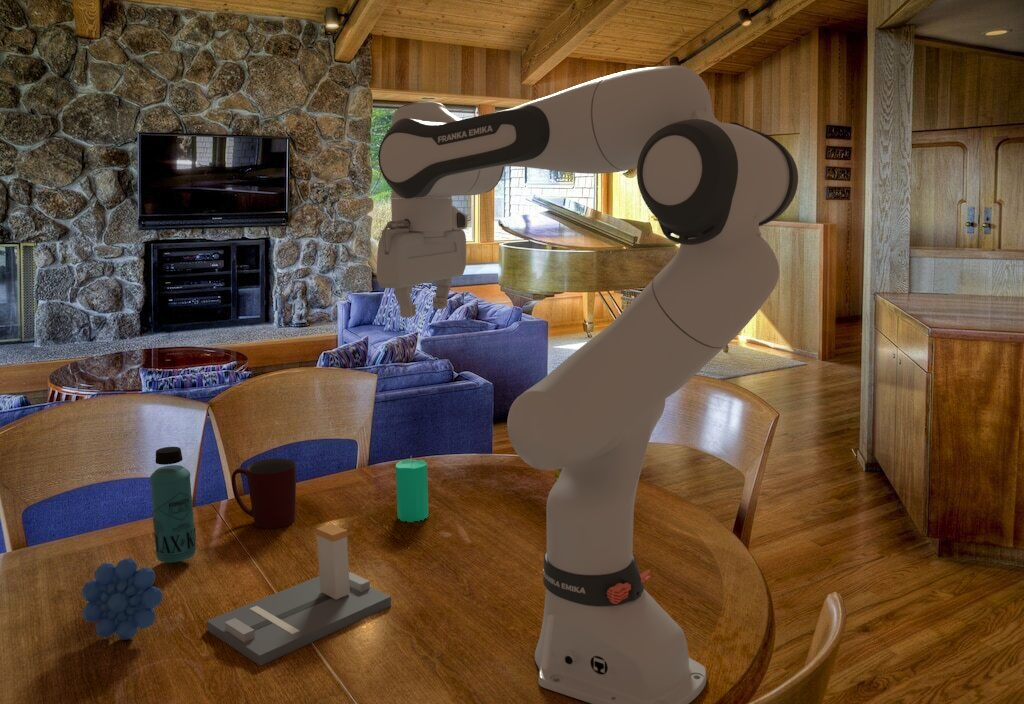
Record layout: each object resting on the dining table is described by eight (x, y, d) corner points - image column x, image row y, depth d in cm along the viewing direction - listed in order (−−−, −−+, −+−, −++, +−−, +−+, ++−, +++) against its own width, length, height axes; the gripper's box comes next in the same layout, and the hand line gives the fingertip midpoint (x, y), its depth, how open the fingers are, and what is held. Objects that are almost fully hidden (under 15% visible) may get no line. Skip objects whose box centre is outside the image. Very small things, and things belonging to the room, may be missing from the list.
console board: (391, 605, 127) (390, 589, 127) (260, 666, 112) (259, 647, 111) (335, 578, 137) (334, 562, 136) (207, 630, 121) (205, 612, 120)
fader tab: (350, 593, 128) (347, 530, 126) (336, 599, 126) (332, 535, 124) (334, 585, 131) (330, 523, 129) (319, 591, 129) (316, 528, 127)
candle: (423, 523, 159) (421, 461, 157) (393, 521, 161) (390, 460, 158) (432, 511, 165) (431, 452, 163) (403, 509, 166) (401, 450, 164)
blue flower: (180, 624, 123) (173, 546, 120) (157, 649, 116) (149, 566, 114) (102, 622, 124) (94, 544, 121) (75, 646, 117) (66, 565, 115)
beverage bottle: (147, 566, 142) (136, 451, 138) (180, 552, 148) (170, 441, 144) (175, 574, 139) (164, 456, 135) (206, 559, 145) (197, 445, 141)
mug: (226, 530, 157) (222, 473, 155) (243, 512, 166) (239, 458, 164) (291, 530, 157) (287, 473, 155) (304, 513, 165) (301, 458, 163)
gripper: (402, 221, 114) (406, 323, 116) (472, 216, 132) (474, 305, 135) (363, 221, 116) (367, 321, 119) (437, 216, 135) (439, 303, 137)
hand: (424, 312), depth 127 cm, fingers open, 8 cm apart
